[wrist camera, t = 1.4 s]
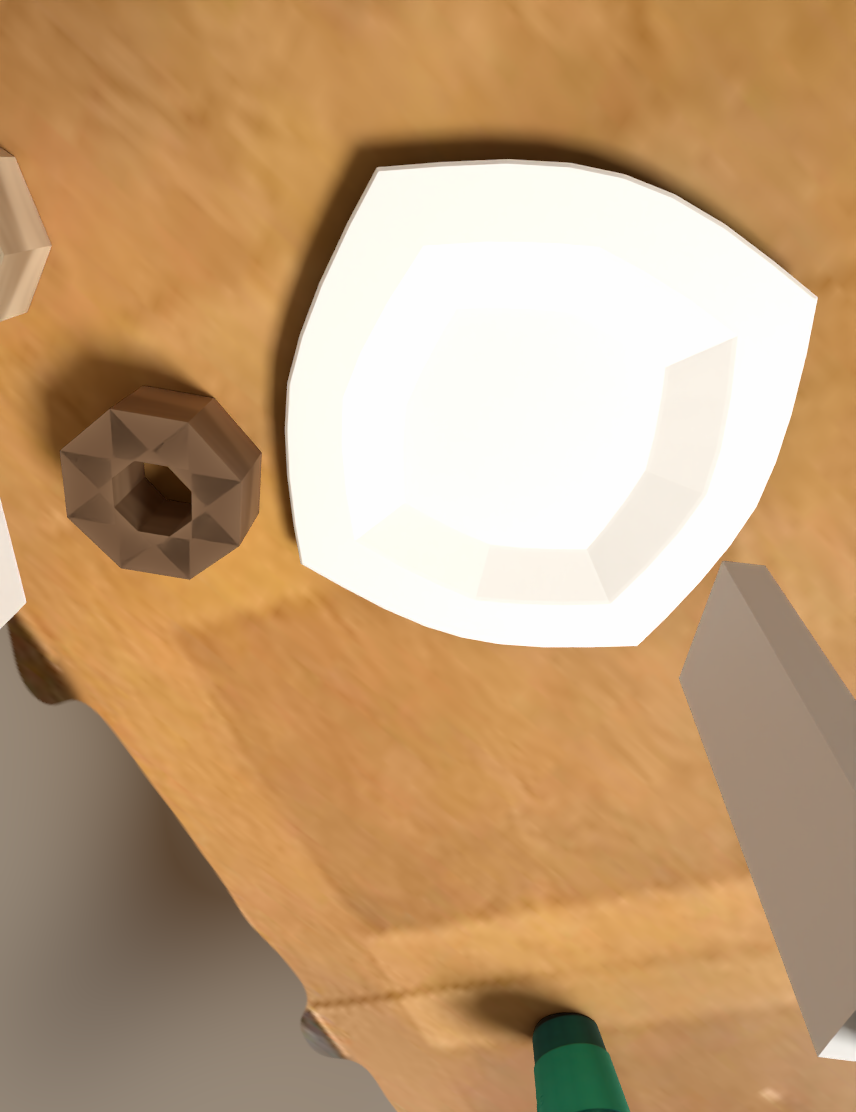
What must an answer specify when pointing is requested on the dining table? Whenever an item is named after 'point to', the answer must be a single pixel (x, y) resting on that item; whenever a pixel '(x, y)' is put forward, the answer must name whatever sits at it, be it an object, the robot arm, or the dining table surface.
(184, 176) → the dining table surface
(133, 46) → the dining table surface
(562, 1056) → the cup
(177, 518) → the walnut bead
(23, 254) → the maple bead
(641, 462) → the plate
